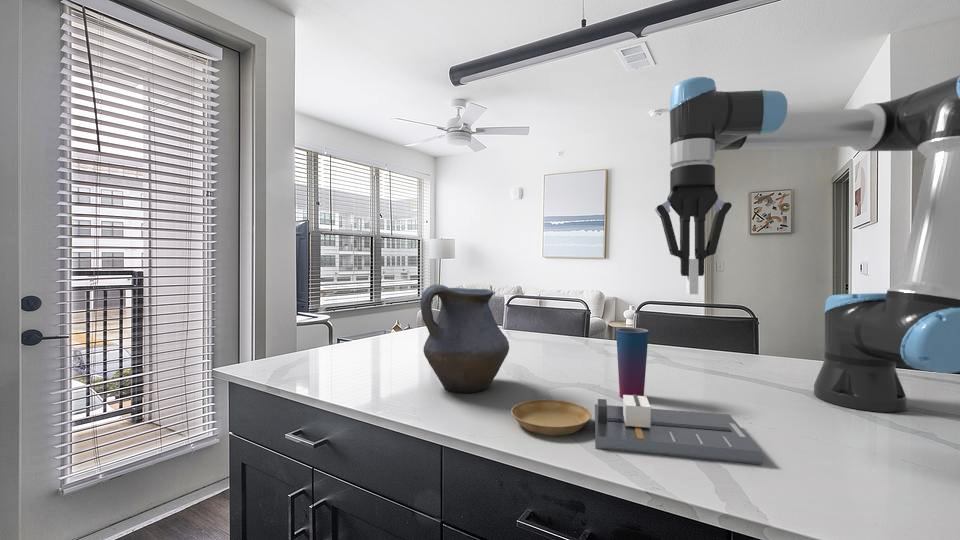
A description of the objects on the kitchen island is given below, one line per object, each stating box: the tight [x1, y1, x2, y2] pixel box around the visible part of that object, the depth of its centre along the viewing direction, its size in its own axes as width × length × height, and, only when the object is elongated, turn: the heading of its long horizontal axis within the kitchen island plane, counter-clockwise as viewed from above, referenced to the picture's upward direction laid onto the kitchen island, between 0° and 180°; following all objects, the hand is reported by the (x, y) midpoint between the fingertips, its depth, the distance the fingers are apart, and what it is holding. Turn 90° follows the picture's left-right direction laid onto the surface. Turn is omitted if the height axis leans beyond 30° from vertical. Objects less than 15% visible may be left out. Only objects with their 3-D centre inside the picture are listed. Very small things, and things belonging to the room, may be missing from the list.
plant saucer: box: [510, 398, 592, 437], centre depth 82 cm, size 15×15×3 cm
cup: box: [615, 326, 650, 400], centre depth 98 cm, size 7×7×15 cm
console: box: [594, 398, 763, 466], centre depth 77 cm, size 24×16×5 cm, turn 76°
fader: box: [622, 394, 652, 428], centre depth 78 cm, size 4×6×4 cm, turn 166°
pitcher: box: [420, 283, 510, 394], centre depth 105 cm, size 21×22×25 cm
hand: (692, 293), depth 83 cm, fingers closed
